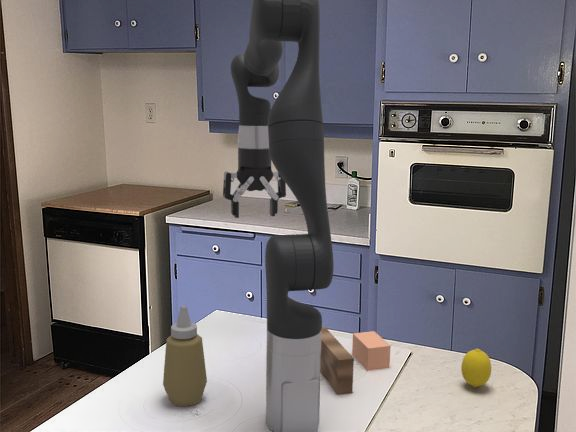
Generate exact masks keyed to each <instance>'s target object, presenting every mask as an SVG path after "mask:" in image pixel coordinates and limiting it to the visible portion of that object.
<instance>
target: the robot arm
mask: <svg viewBox="0 0 576 432" xmlns="http://www.w3.org/2000/svg"><path fill="white" fill-rule="evenodd" d="M320 14H321V13H320V1H319V0H252V4H251V13H250V23H249V36H248V37H249V39H248V43H247V46H246V48H245V51H244V53H239V54H236V55H235V56H233V58H232V60H231V62H230V74H231V78H232V81H233V84H234V85H233V86H234V88H235V92H236V96H237V97H236V98H237V100H238V101H237V102H238V117H239V119H238V123H239V124H238V125H239V126H238V134H237V171H236V172H229V171H224V173H223V183H222V184H223V185H222V187H223V189H222V196H223V198H224V199H226V200H228V201H230V213H231V215H232V216H233V217H234V218H235V219H239V218H240V201H239V199H240V198H241V197H242V196H243V195H244V194H245V192H246V191H247V192H253V191H258V192H262V191H265V192H266V193H267V194H268V195H269V197H270V199H269V216H270V217H276V215H277V214H278V211H279V208H278V205H279V203H278V202H279V200H280V199H282V198H286V196H287V187H288V188H289V190H290V191H291V193H292V194H293V195H294V197H295V199H296V200H297V202H298V205H299V206H300V208H301V210H302V213H303V215H304V217H303V218H304V220H305V224H306V230H307V233H298V234H297V233H296V234H275V235H272V236H270V238H269V239H267V242H266V245H265V254H264V257H265V258H264V259H265V260H264V261H265V262H264V267H265V268H264V269H265V281H266V282H265V284H266V286H265V287H266V354H265V355H266V356H265V357H266V359H265V360H266V362H265V363H266V367H265V368H266V370H265V371H266V375H265V376H266V377H265V383H266V384H265V423H266V425H267V427H268V428H269V429H270V430H271V431H273V432H319V431H318V430H319V429H318V428H319V425H320V406H321V405H320V402H321V401H320V399H321V397H320V396H321V372H320V369H321V337H322V327H323V317H322V313H321V312H320V311H319V310H318V309H317V308H316V307H314V306H313V305H309V304H306V303H303V302H300V301H298V300H297V301H296V300H294V299H292V298H291V297H289V293H290V292H299V291H315V290H325V289H328V288H329V287H330V285H331V284H332V282H333V278H334V268H335V267H334V251H333V242H332V234H331V226H330V218H329V217H330V216H329V211H328V201H327V193H326V192H327V191H326V189H327V188H326V170H325V169H326V167H325V138H324V137H325V134H324V121H323V111H322V110H323V109H322V108H323V107H322V97H321V84H320V83H321V82H320V80H321V79H320V36H321V35H320V25H321V23H320ZM283 42H294V43H295V42H296V43H297V45H298V50H297V51H298V52H297V58H296V61H295V64H294V66H293V68H292V72H291V73H290V75H289V78H288V79H287V81H286V82H285V84H284V85H283V87H282V89H281V91H280V92H279V93H278V95H277V97H276V98H275V101H274V103H273V104H272V106H271V103H270V100H268V99H267V98H261V97H258V96H254V95H253V94H252V93H250V91H249V89H248V87H249V88H269V87H273V86H274V85H275V84H277V82H278V80H279V76H280V74H279V73H280V69H279V68H280V67H279V62H280V60H281V59H282V55H283V49H284V48H283ZM272 164H273V166H274V167H275V169H276V171H273V170H272ZM273 178H274V179H275V181H277V192H276V191H275V190H274V188H273V187H272V185H271V184H270V183H271V181H272V180H273ZM235 179H237V181H238V182H239V183H238V185H237V186H236V188H235V190H234V191H233V193H231V189H232V183H233V182H234V181H235ZM286 185H287V187H286Z"/></svg>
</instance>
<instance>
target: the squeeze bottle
mask: <svg viewBox="0 0 576 432" xmlns="http://www.w3.org/2000/svg"><path fill="white" fill-rule="evenodd" d="M176 321H177V322H175V323H173V324H172V325H171V326H170V333H171V334H170V335H169V336H168V337H167V338H166V340H165V353H164V354H165V355H164V366H163V367H164V368H163V378H162V386H163V388H164V390H165V393H166V396H167V398H168V401H169V402H170V403H171V404H172V405H175V406H179V407H190V406H194V405H196V404H198V403H199V402H200V401H201V400H202V397H203V395H204V392H205V388H206V385H207V383H208V378H207V377H208V376H207V369H206V361H205V359H206V358H205V352H204V345H203V344H204V343H203V337H202V336H201V335H199V334H198V325H197V324H196V323H195V322H192V321H191V318H190V313H189V310H188V306H187V305H181V306H180V307H179V312H178V316H177V320H176Z"/></svg>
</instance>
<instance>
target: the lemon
mask: <svg viewBox="0 0 576 432" xmlns="http://www.w3.org/2000/svg"><path fill="white" fill-rule="evenodd" d="M491 362H492V361H491V359H490V357H489V355H488V354H487V353H486V352H484V351H482V350H481V349H479V348H475V349H472V350H470V351H467V353H466V354H465V355H464V357H463V359H462V362H461V366H460V367H461V375H462V378H463V379H464V380H465V382H466V383H468V384H469V385H471V386H472V388H478V387H481V386H484V385H485V384H486V383H488V381H489V380H490V378H491V374H492V363H491Z"/></svg>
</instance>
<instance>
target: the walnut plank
mask: <svg viewBox="0 0 576 432" xmlns="http://www.w3.org/2000/svg"><path fill="white" fill-rule="evenodd" d="M354 358H355V357H354V356H353V355H351V353H349V351H348V350H347V349H346V348H345V347H344V346H343V344H341V342H339V340H338V339H337V338H336V337H335V336H334V335H333V333H332V332H330V331H329V329H328V328H327V327H326V326H322V337H321V369H320V374H322V376H323V378H325V380H326V381H327V382H328V384H329V385H330V387H331V388H332V389H333V390H334V392H335V394H336V395H344V394H352V393H353V388H354V387H353V384H354V363H355V362H354V361H355V360H354Z"/></svg>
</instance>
